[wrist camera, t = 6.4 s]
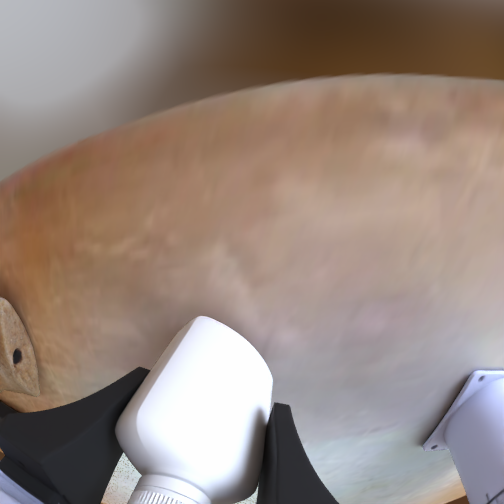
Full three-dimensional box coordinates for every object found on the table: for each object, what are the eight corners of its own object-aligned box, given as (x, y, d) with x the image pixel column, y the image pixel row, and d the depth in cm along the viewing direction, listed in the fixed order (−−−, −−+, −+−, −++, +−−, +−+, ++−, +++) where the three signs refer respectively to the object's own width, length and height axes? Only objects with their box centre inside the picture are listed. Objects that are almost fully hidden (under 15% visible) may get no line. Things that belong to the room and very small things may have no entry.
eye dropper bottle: (206, 398, 16) (134, 574, 5) (171, 317, 15) (27, 502, 4) (278, 390, 15) (249, 598, 4) (252, 302, 14) (163, 561, 3)
